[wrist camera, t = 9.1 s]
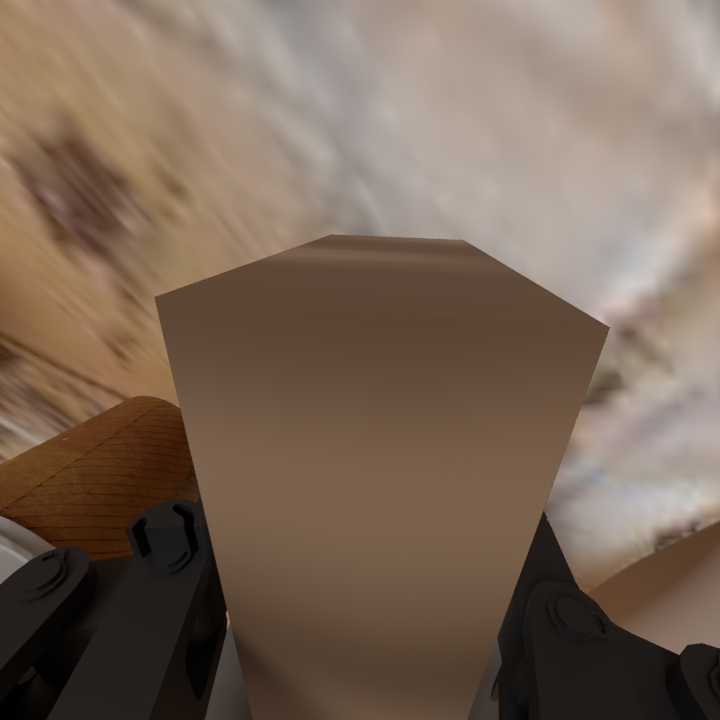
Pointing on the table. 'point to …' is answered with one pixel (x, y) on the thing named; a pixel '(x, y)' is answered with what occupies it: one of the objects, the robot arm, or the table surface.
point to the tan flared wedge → (372, 467)
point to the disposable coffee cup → (92, 482)
